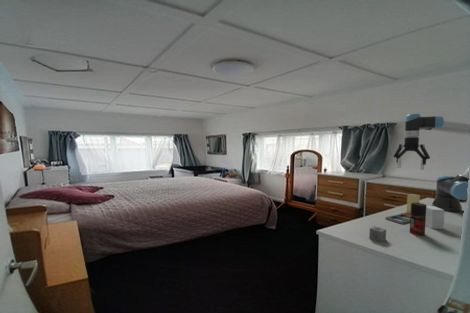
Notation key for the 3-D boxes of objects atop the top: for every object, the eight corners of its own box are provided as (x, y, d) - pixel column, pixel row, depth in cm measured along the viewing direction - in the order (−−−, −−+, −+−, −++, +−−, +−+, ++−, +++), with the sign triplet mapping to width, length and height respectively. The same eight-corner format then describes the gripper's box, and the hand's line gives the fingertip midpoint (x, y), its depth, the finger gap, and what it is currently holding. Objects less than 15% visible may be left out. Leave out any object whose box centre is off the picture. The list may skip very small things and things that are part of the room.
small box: (443, 229, 117) (445, 210, 116) (431, 228, 118) (432, 209, 117) (433, 224, 124) (434, 205, 124) (422, 223, 125) (423, 205, 125)
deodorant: (407, 231, 113) (408, 203, 112) (413, 230, 115) (415, 202, 114) (420, 236, 108) (422, 206, 107) (427, 234, 110) (429, 205, 109)
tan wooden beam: (410, 215, 139) (411, 193, 138) (418, 217, 135) (419, 195, 134) (406, 216, 137) (407, 194, 136) (414, 218, 133) (415, 195, 132)
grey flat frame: (408, 213, 142) (408, 211, 142) (425, 218, 134) (425, 215, 134) (385, 219, 132) (385, 216, 132) (402, 224, 124) (402, 221, 124)
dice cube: (369, 238, 105) (369, 228, 105) (374, 236, 108) (374, 226, 108) (380, 242, 101) (381, 231, 101) (385, 239, 104) (386, 229, 103)
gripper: (388, 137, 158) (387, 167, 159) (431, 136, 135) (430, 170, 136) (394, 137, 161) (393, 166, 162) (437, 136, 138) (436, 170, 140)
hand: (410, 168), depth 149 cm, fingers open, 13 cm apart
